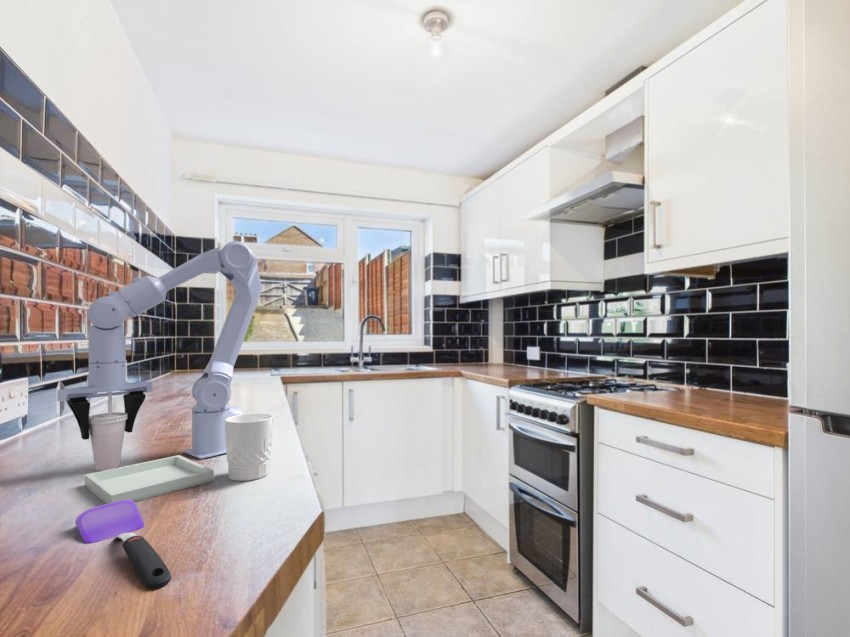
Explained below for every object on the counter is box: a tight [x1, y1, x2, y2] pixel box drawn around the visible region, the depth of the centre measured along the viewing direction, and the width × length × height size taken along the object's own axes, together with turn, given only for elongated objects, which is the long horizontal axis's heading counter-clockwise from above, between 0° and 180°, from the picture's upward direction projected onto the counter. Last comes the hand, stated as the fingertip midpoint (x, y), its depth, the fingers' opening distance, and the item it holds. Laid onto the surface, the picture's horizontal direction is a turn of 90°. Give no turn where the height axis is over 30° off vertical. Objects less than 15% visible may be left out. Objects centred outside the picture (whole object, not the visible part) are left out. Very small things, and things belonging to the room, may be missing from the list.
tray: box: [84, 454, 215, 504], centre depth 75 cm, size 15×15×2 cm
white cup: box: [225, 413, 274, 482], centre depth 79 cm, size 8×8×10 cm
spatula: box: [74, 500, 172, 589], centre depth 53 cm, size 24×7×2 cm, turn 47°
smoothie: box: [89, 391, 128, 472], centre depth 84 cm, size 6×6×14 cm
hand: (107, 435), depth 84 cm, fingers closed on smoothie, 6 cm apart
